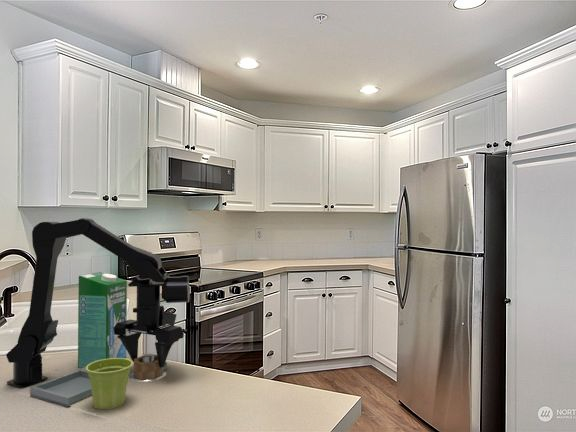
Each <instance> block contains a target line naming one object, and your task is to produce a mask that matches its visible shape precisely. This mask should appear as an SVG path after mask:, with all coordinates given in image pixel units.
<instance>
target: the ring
mask: <svg viewBox="0 0 576 432" xmlns="http://www.w3.org/2000/svg"><path fill="white" fill-rule="evenodd" d="M167 369H168V362H167V361H165V364H164V366H163V367H161V368H160V367H159V363H158V358H157V354H154V361H153V362H145V363H144V362H143V355H140V356H138V357H137V358H135V359H134V362H133V373H134V379H137V380H142V381H143V380H151V379H156V378H158V377H160V376H162V375H163V370H164V371H165V370H167Z"/></svg>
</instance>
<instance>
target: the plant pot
mask: <svg viewBox="0 0 576 432" xmlns="http://www.w3.org/2000/svg"><path fill="white" fill-rule="evenodd" d="M132 366H134V362H133V361H132V359H129V358H127V357H126V358H109V359H102V360H98V361H95V362H92V363H90V364H88V365H87V366H86V367H85V370H86V371H87V372H88V376H89V377H90V382H91V389H92V396H91V397H92V405H93V408H95V409H97V410H111V409H114V408H117V407H120V406H122V405H123V404H124V403H125V400H126V399H125V398H126V392H127V386H128V380H129V374H130V372H131V368H132Z"/></svg>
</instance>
